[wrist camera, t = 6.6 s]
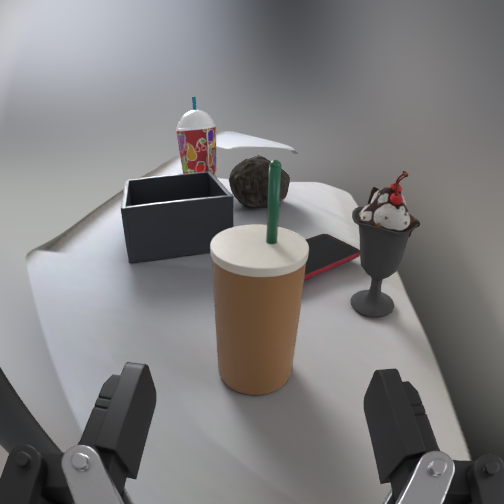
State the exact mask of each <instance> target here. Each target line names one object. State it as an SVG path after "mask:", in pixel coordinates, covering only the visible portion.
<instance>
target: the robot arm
mask: <svg viewBox="0 0 504 504" xmlns="http://www.w3.org/2000/svg"><path fill="white" fill-rule="evenodd" d="M155 405H156V389H155V386H154V383H153V380H152V376H151V373H150V369H149V367H148V365H146V364H138V363H130V362H127V363H126V364H125V366H124V368H123V370H122V373H121V375H112V376H111V377H110V378H109V379H108V380H107V381H106V382H105V383H104V384H103V386H102V389H101V391H100V393H99V398H97V400H96V403H95V407H94V408H93V410H92V412H91V415H90V417H89V420H88V422H87V425H86V427H85V430H84V432H83V435H82V437H81V440H80V442H79V443H78V445H77V446H73V447H71V448H69V449H68V450H67V451H66V452H65V453H39V452H38V451H37V450H36V449H35V448H34V447H33V446H30V445H27V444H22V445H18V446H16V447H15V448H14V449H13V450H12V451H11V452H10V454H9V456H8V459H7V461H6V464H5V467H4V470H3V473H2V475H1V478H0V504H72V503H75V504H133V502H132V500H131V498H130V496H129V494H128V492H127V491H126V489H125V487H124V486H125V482H126V478H127V477H128V478H132V479H136V478H137V474H138V470H139V466H140V462H141V458H142V454H143V450H144V446H145V443H146V439H147V435H148V431H149V428H150V424H151V420H152V417H153V413H154V409H155ZM364 412H365V416H366V420H367V424H368V429H369V433H370V437H371V441H372V446H373V450H374V455H375V459H376V464H377V469H378V474H379V479H380V484H384V483H389V482H391V487H392V489H391V490H390V492H389V494H388V495H387V497H386V499H385V501H384V502H383V504H504V463H503V461H502V460H501V458H500V457H499V456H497V455H495V454H491V453H487V454H484V455H482V456H480V457H479V458H478V459H477V460H476V461H458V460H452V459H451V457H450V456H449V455H447V454H446V453H444V452H441V451H440V449H439V447H438V445H437V442H436V439H435V436H434V434H433V431H432V428H431V425H430V422H429V420H428V417H427V414H425V409H424V406H423V405H422V401H421V399H420V396H419V394H418V391H417V390H416V389H415V388H414V387H413V386H412V385H411V383H410V382H409V381H407V382H402V380H401V377H400V375H399V372H398V370H397V369H385V370H376V371H375V372H374V374H373V377H372V379H371V382H370V384H369V387H368V389H367V391H366V394H365V397H364Z"/></svg>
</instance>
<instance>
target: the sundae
mask: <svg viewBox="0 0 504 504" xmlns="http://www.w3.org/2000/svg"><path fill="white" fill-rule="evenodd" d="M403 175H404V177H402V178H401V179H399V178H400V177H401V176H403ZM407 176H408V174H407V172H405V171H403V174H402V175H400V176H399V177H398V179H397V181H396V183H394V184H391V186H390V188H382V189H380V190H379V189H377V188H375V187H373V188H372V190H371V194H370V197H369V201H368V204H367V206H366V207H358V208H356V209H354V210H353V213H352V218H353V220H354V222H355V223H356V224H358V225H359V233H360V258H361V266H362V267H363V269H364V270H365V271H366V273H367V274H368V275H370V276H371V278H372V281H371V287H370V289H369V290H363V291H359V292H357V293H356V294H354V295H353V297H352V298H351V304H352V306H353V308H354V309H355V310H356V311H357V312H359V313H361V314H363V315H365V316H369V317H383V316H386V315H388V314H390V313H391V312H392V311H393V309H394V303H393V300H392V299H391V298H390V297H389V296H388V295H386V294H384V293H382V292H381V284H382V280H383V279H384V278H387V277H389V276H391V275H392V274H393V273H395V272H396V271H397V268H398V266H399V264H400V262H401V259H402V256H403V253H404V250H405V247H406V244H407V240H408V237H410V235H411V232H412V231H413V230H414V229H415V228H417V227H419V225H420V222H419V221H418V220H417V219H415V218H414V217H413V216H411V215H410V214H409V213H408V210H407V208H406V202H405V199H404V197H403V195H402V194H401V190H402V188H401V186H400V185H399V182H400V180H402V179H403V178H405V177H407Z"/></svg>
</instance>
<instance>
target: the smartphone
mask: <svg viewBox="0 0 504 504" xmlns="http://www.w3.org/2000/svg"><path fill="white" fill-rule="evenodd" d="M306 241H307V243H308V246H309V254H308V259H307V261H306V266H305V275H304V280H306V279H308V278H311V277H313V276H315V275H318V274H320V273H322V272H325V271H327V270H329V269H332V268H334V267H336V266H338V265H341V264H343V263H345V262H348V261H350V260H352V259H355V258H356V257H358V256H359V255H360V250H359V249H357V248H355V247H353V246H351V245H349V244H347V243H345V242H343V241H341V240H339V239H337V238H335V237H333V236H330V235H328V234H321V235H318V236H315V237H312V238H309V239H306Z"/></svg>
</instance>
